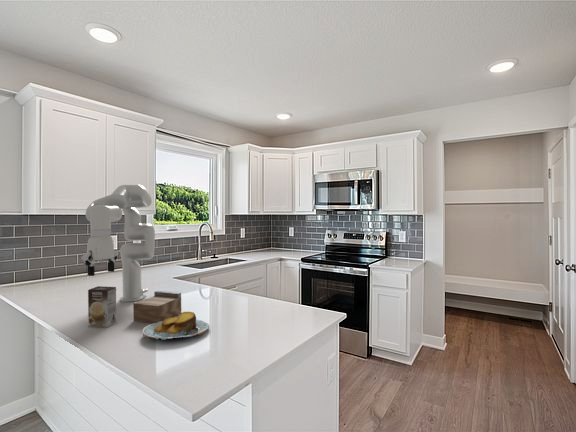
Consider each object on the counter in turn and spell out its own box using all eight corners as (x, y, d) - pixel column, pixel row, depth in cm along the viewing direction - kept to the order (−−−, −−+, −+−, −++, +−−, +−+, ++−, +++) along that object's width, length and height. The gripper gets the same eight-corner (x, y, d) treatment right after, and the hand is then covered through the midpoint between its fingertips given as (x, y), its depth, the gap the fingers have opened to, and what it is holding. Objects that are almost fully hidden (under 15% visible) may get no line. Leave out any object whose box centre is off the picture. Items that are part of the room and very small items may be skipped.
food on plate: (135, 331, 128) (135, 315, 128) (194, 318, 143) (194, 304, 143) (153, 352, 108) (152, 334, 108) (219, 335, 123) (219, 318, 123)
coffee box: (87, 327, 133) (86, 289, 133) (98, 322, 139) (97, 286, 139) (107, 327, 132) (106, 289, 132) (117, 322, 138) (116, 286, 138)
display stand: (157, 311, 154) (157, 290, 154) (181, 313, 149) (181, 292, 149) (133, 321, 139) (133, 298, 139) (159, 324, 135) (158, 301, 135)
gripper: (111, 232, 144) (111, 269, 144) (75, 235, 128) (75, 276, 128) (123, 232, 142) (124, 270, 142) (88, 235, 126) (89, 277, 125)
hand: (101, 273), depth 135 cm, fingers open, 9 cm apart
